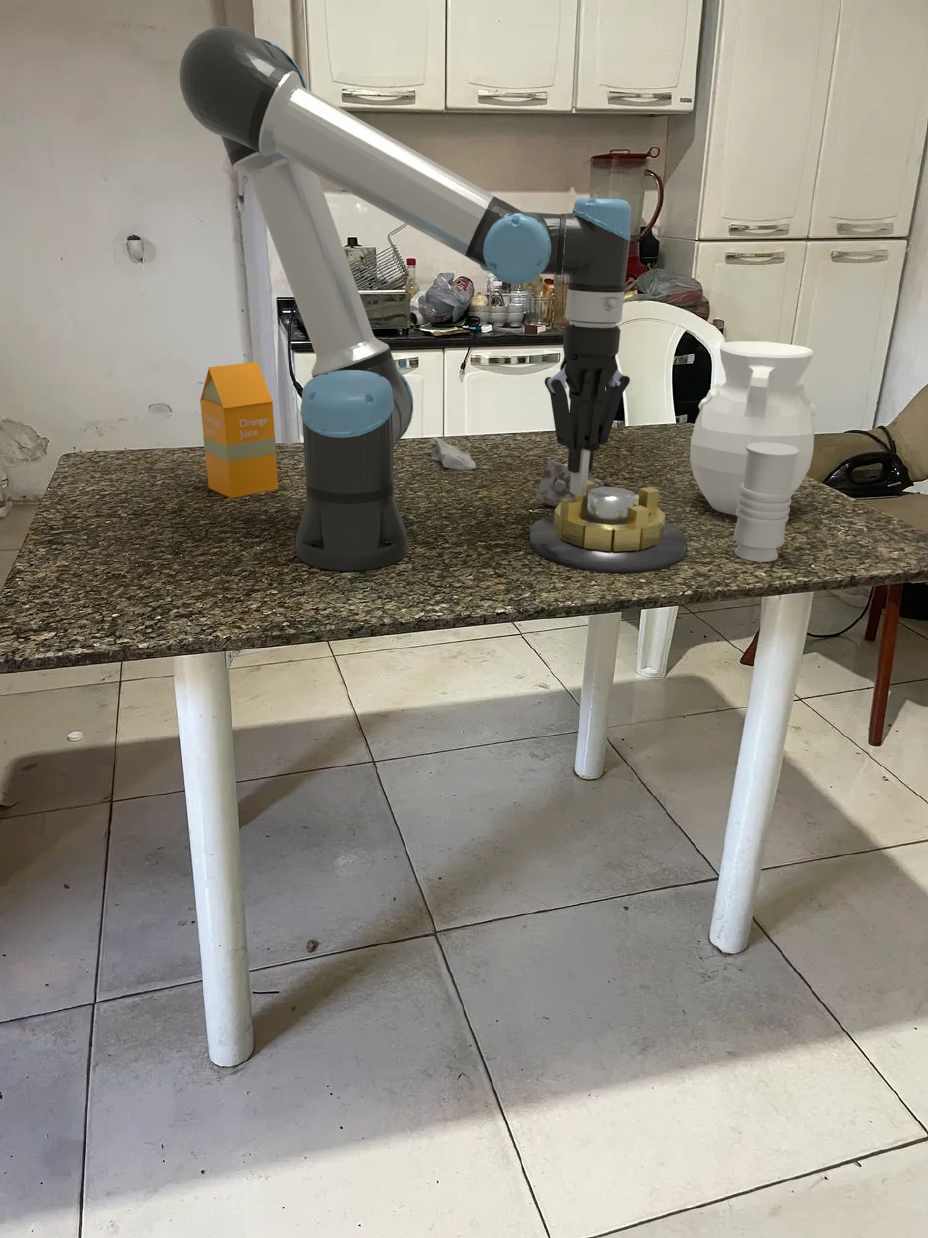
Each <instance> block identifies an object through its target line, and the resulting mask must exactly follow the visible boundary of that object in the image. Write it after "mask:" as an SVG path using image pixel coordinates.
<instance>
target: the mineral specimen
mask: <svg viewBox="0 0 928 1238" xmlns="http://www.w3.org/2000/svg"><path fill="white" fill-rule="evenodd" d="M429 444H430V446H432V449H431V454H430V455H431V460H433V461H437V462H441V464H442V467H443V468H444V469H445V468H446V469H452V470H453V469H454V470H459V471H460V470H461V471H462V470H463V471H471V470H475V469H476V468H477V466H476V465H477V464H476V462H475V461H474V460H473V459H472V456H471V454H469V453H468V452H463V451H462V450H460V449H459V448H458V447H456V446H453V445H452V444H449V443H448V442H447V441H445V440H443V439H442V438H439V437H437V436H434V437H432V438H431V439H430V440H429Z"/></svg>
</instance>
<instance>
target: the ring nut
mask: <svg viewBox="0 0 928 1238" xmlns="http://www.w3.org/2000/svg"><path fill="white" fill-rule="evenodd" d="M595 485H596V484H595V483H593V482H591V481H589V480H587V488H586V496H578V495H575V498H574V497H573V498H566V499H561V503H560V504H559V505H558V506H557V507H555V509H554V513H553V515H554V529H553V531H554V532H555V533H556V534H557V535H558V537H559V538H560V539H562V540H563V541H566V542H569V543H571V544H574V545H577V546H579V547H584V548H589V549H597V550H604V551H611V549H612V550H613V551H631V550H639V549H641V550H642V549H645V548H648V547H651V546H654V545H657V544H658V543H660V541H661V539H662V537H663V533H664V524H665V522H666V513H665V512H663V510H662V509H660V508H659V502H660V501H659V500H660V492H661V491H660V490H659V489H657V488H654V487H652V486H649V487H642V488H639V490H638V491H639V492H638V493H639V494H638V495H639V500H635V499H634V506H632V507H628V514H627V525H607V524H599V523H591V522H588V521H586V516H587V503H588V491H589V490H591V489H593V488H595Z"/></svg>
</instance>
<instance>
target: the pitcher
mask: <svg viewBox="0 0 928 1238" xmlns="http://www.w3.org/2000/svg"><path fill="white" fill-rule="evenodd" d="M719 351H720V361H721V363H722V366H723V370H724V375H725V382H724V383H723V384H720V383H715V385H714V386H713V388H711V389H709V390H708V392H707V394H706V396H705V397H703V399H701V401H700V402H699V404H698V409H699V410H698V411H699V413H698V415H697V417H696V419H695V423H694V426H693V427H694V428H693V431H692V434H691V439H690V454H689V462H690V466H691V469H692V474H693V477H694V480H695V481H696V483H697V485H698V487H699V490H700V492H701V493H702V495H703V496H704V497H705V499H706V501H707V502H708V504H709V505H710V506H711V508H712V509H714V510H715V511H717V512H720V513H724V514H726V515H727V514H728V515H732V516H736V509H737V502H738V495H739V488H740V485H741V484H742V483H743V481H744V475H745V468H746V461H747V454H748V451H747V450H746V447H747V445H748V444H751V443H756V442H772V443H781V444H786V445H790V446H793V447H796V448H797V449H799V454H798V455H797V456H796V461H795V467H794V473H793V479H792V485H791V489H792V491H793V493H795V492H796V491H797V490H798V489H799V488H800V487H801V485H802V483H803V481H804V479H805V477H806V476H807V473H808V471H809V470H810V467H811V464H812V459H813V454H814V449H815V448H814V447H815V446H814V444H815V443H814V441H815V427H814V426H815V425H814V416H816V415H817V411H816V409H817V408H816V405H815V404H813V403H812V398H811V396H810V394H809V393H807V392H806V391H805V385H804V383H803V384H798V382H799V381H800V379H801V378H802V376H803V375H804V373H805V371H806V370H807V368H808V367H809V365H810V363H811V361H812V358H813V356H814V354H815V352H814V350H813V349H811V348H809V347H806V346H803V345H797V344H789V343H782V342H775V341H774V342H773V341H755V340H753V341H751V340H750V341H748V340H745V341H744V340H743V341H727V342H723V343H721V345H720V346H719ZM797 384H798V385H797Z"/></svg>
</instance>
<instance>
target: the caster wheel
mask: <svg viewBox="0 0 928 1238" xmlns="http://www.w3.org/2000/svg"><path fill="white" fill-rule="evenodd" d="M545 465H546V466H545V468H544V471H543V473H542V476H541V481H540V483H539V486H538V489H537V493H536V496H535V499H536V500H537V501H540V502H542V503H545V504H547V505H549V506H552V507H554V508H556V507H557V506H558V505H559V504H560V503H561V499H566V498H573V497H574V498H575V494H573V493H571V492H569V491H570V479H571V472H570V471H568V462H567V463H564V464H562V463H560V462H558V461H555V460H553V459H547V461H546V464H545ZM587 480H589V481H591V482H593V483H595V484H596V485H595V488H598V487H615V486H614V485H612V484H610V483H607V482H605V481H602V480H600V479H598V478H594V477H592V475H591V474H590V471H588V478H587Z"/></svg>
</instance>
